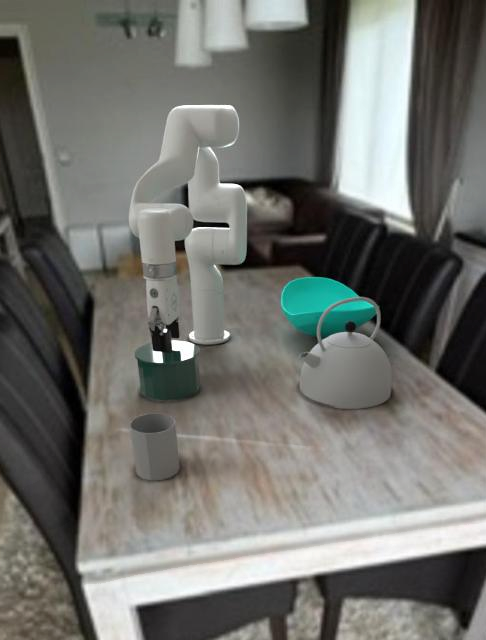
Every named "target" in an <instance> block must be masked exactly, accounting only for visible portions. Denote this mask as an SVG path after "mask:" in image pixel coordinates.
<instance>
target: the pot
mask: <svg viewBox="0 0 486 640" xmlns="http://www.w3.org/2000/svg"><path fill="white" fill-rule="evenodd" d="M136 361H137V370H138V378H139V387H140V393H141V395H142V396H143V397H144V396H145V397H146V398H149V399H152V400H159V401H175V400H181V399H185V398H189V397H191V396H193V395H196V393H198V391H199V390H200V388H201V382H200V381H201V380H200V365H199V355H198V356H197V357H196V358H194V359H193V360H190V361H188V362H184V363H180V364H174V365H152V364H147V363H143V362H140V361H139V360H137V359H136Z"/></svg>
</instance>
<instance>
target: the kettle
mask: <svg viewBox="0 0 486 640" xmlns="http://www.w3.org/2000/svg"><path fill="white" fill-rule="evenodd" d="M352 301H366V302H368V303H370V304H371V305H373V306H374V307H375V309H376V312H377V314H376V325H375V329H374V330H373V332H372V334H371V336H370V337H368V336H367V335H365V334H363V333H361V332H360V333H359V332H355V331H356V329H357V328H356V324H355V323H354V322H353V321H348V322H347V323H346V324H345V330H346V331H347V332H341V333H336V334H333V335H330V336H329V337H327V338H325V339H321V336H320V329H321V325H322V322H323V319H324V318H325V316H326V315H327V314H328V313H329V312H330V311H331V310H332V309H333V308H335V307H337V306H339V305H341V304H344V303H348V302H352ZM378 306H379V305H378V304H377V303H376V302H375V301H374V300H373V299H371V298H369V297H365V296H359V297H355V298H349V299H345V300H342V301H339V302H337V303H335V304H333V305H331V306H330V307H329V308H328V309H326V311H325V312H324V313H323V314H322V316H321V318H320V320H319V323H318V326H317V337H316V338H317V344H315V345H314V347H312V349H311V350H310V351H303V352H302V353H301V354H300V355H299V359H300V360H302V361H303V364H302V367H301V371H300V379H299V389H300V391H301V392H302V394H303V395H304V396H305V397H307V398H309V399H311V400H313V401H316V402H319V403H322V404H325V405H330V406H331V407H332V408H334V409H343V410H345V409H346V410H358V409H367V408H373V407H377V406H380V405H381V404H384V403H385V402H386V401H388V400H389V399H390V397H391V394H392V385H393V372H392V366H391V362H390V360H389V358H388V356H387V354H386V352H385V351H384V350H383V348H382V347H381V346H380V345H379V344H378V343H377V342H376V341H374V339H375V337H376V336H377V334H378V332H379V330H380V325H381V319H382V318H381V310H380V306H379V307H378Z"/></svg>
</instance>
